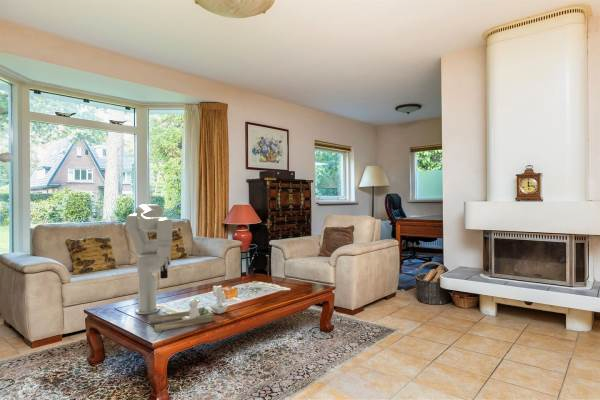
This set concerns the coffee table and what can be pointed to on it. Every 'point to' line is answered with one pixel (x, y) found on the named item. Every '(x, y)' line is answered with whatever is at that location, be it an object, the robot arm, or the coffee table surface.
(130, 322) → the coffee table surface
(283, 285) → the coffee table surface
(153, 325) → the mats
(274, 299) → the coffee table surface
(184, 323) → the lane
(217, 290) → the figurine
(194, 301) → the sitting furry creature
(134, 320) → the coffee table surface
